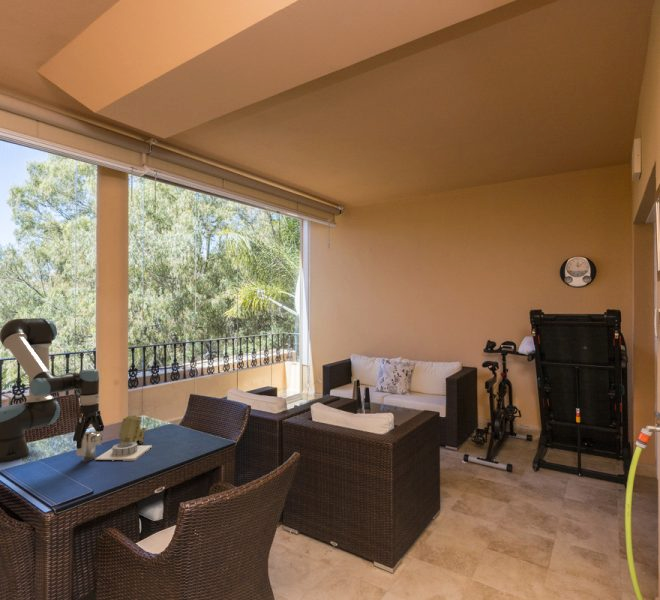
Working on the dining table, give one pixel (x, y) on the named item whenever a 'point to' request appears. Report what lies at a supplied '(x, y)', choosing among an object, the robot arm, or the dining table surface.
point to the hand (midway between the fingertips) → (89, 450)
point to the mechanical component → (131, 430)
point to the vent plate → (126, 457)
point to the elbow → (90, 445)
